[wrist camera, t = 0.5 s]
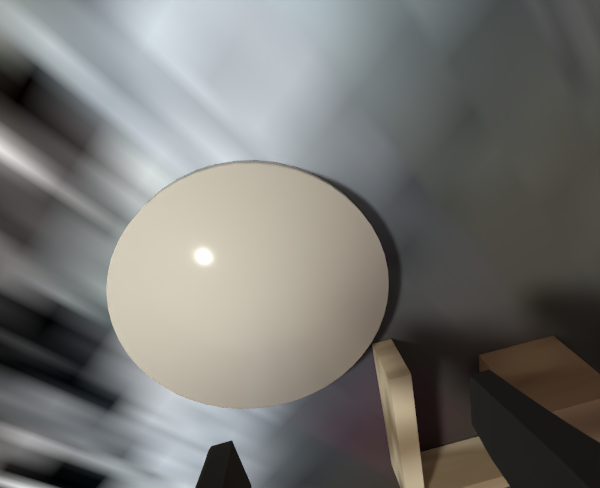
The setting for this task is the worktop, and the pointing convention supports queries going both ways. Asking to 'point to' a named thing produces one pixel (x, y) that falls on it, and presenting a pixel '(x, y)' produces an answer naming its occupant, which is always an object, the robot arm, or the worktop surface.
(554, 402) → the walnut block
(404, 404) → the wooden u-shaped frame
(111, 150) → the worktop surface
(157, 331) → the ceramic plate
